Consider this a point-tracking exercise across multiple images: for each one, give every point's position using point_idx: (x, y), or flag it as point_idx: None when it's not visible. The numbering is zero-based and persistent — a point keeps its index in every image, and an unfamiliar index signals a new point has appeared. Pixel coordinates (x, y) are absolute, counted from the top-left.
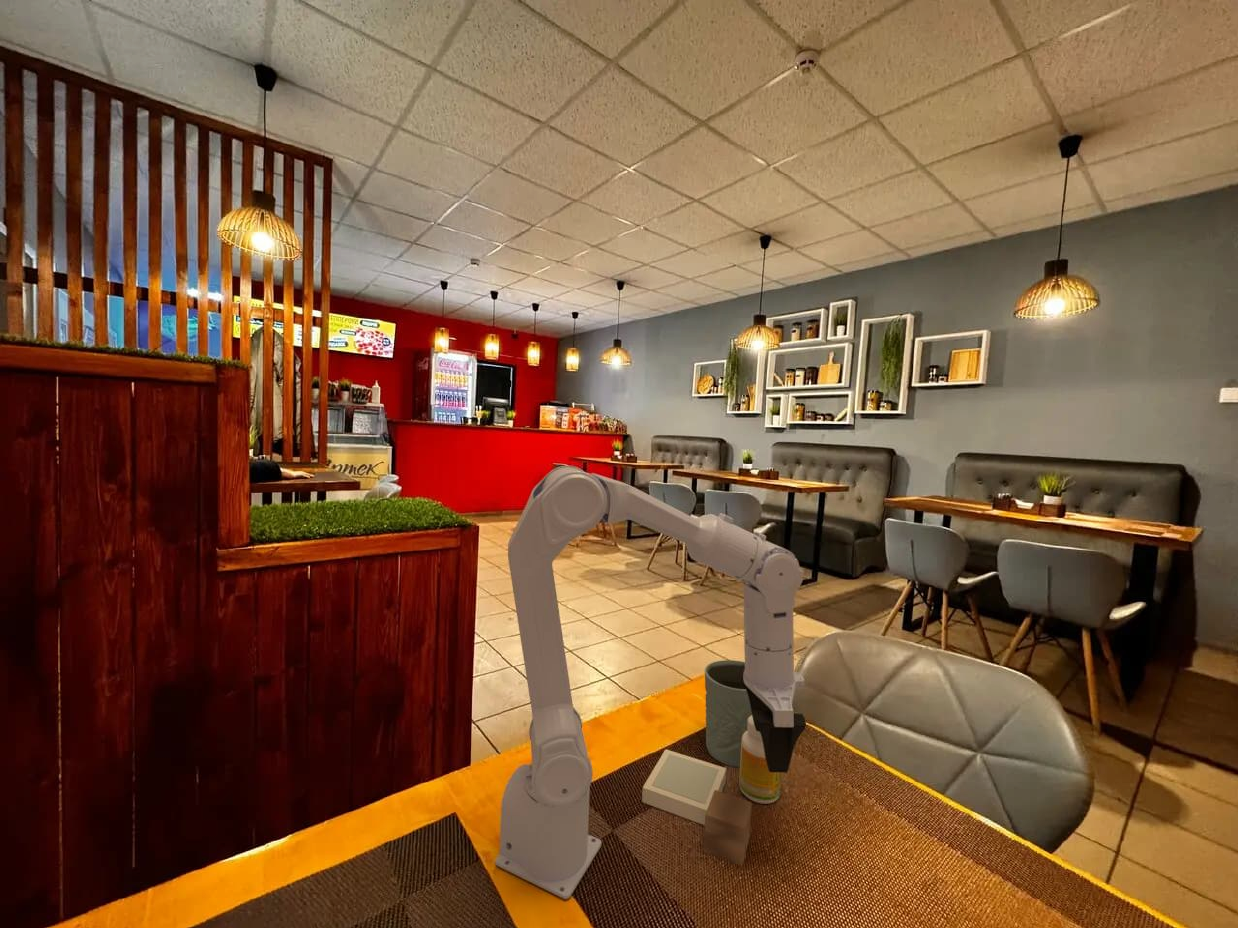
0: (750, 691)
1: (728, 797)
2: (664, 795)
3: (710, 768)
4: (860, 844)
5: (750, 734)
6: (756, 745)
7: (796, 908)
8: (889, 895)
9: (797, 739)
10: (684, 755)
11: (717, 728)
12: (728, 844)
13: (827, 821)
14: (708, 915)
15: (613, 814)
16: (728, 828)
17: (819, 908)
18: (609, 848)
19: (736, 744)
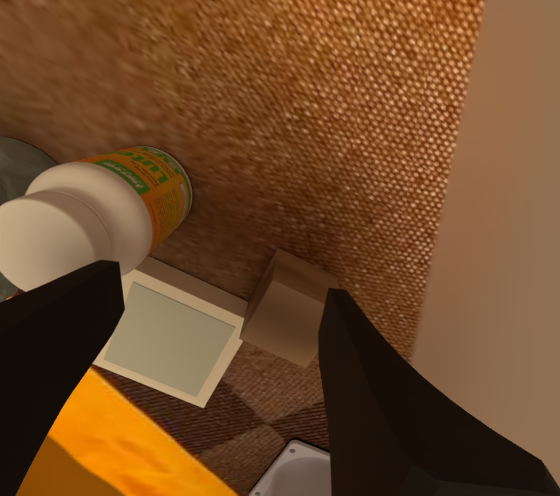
0: (15, 475)
1: (260, 319)
2: (218, 381)
3: (133, 297)
4: (297, 6)
5: None
6: (124, 260)
7: (422, 219)
8: (430, 14)
9: (436, 388)
10: None
11: (15, 289)
12: None
13: (230, 60)
14: (410, 340)
15: (238, 421)
16: None
17: (430, 181)
18: (297, 429)
19: None
